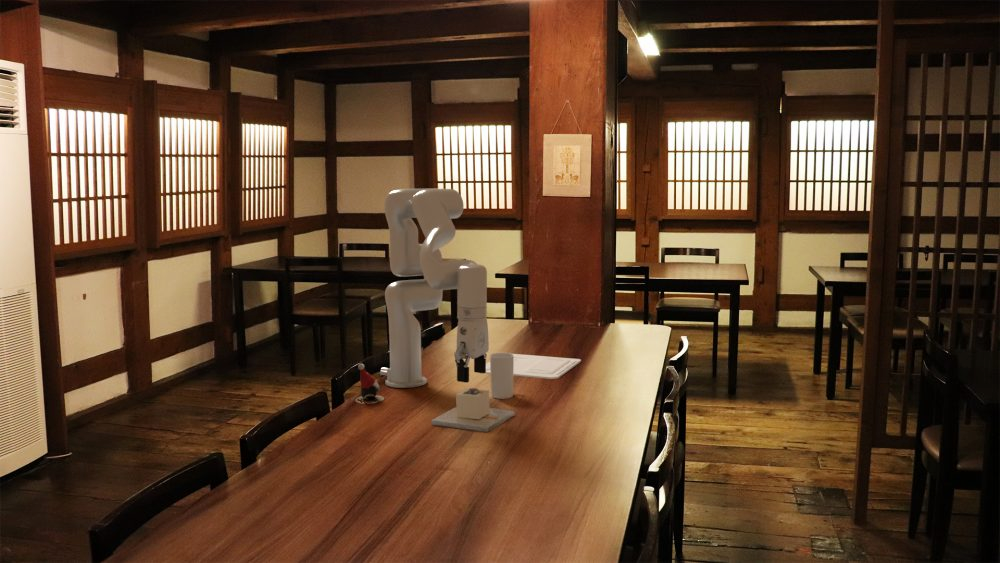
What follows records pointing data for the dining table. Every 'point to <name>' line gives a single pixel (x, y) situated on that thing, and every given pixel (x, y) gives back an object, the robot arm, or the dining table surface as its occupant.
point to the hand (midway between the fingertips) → (471, 377)
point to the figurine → (368, 387)
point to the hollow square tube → (472, 404)
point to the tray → (540, 366)
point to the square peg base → (473, 424)
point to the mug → (501, 375)
